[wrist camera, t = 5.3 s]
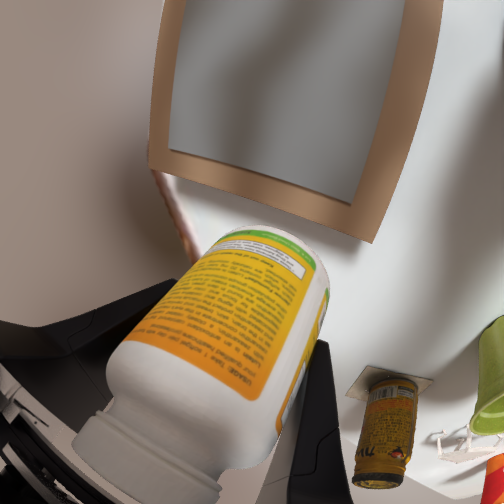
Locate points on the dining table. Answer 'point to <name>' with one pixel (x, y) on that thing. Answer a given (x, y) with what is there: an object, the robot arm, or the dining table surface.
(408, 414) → the condiment
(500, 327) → the plant pot
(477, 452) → the miniature table
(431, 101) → the dining table surface
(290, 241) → the supplement bottle
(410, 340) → the dining table surface
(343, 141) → the framed mirror
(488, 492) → the paper cup
